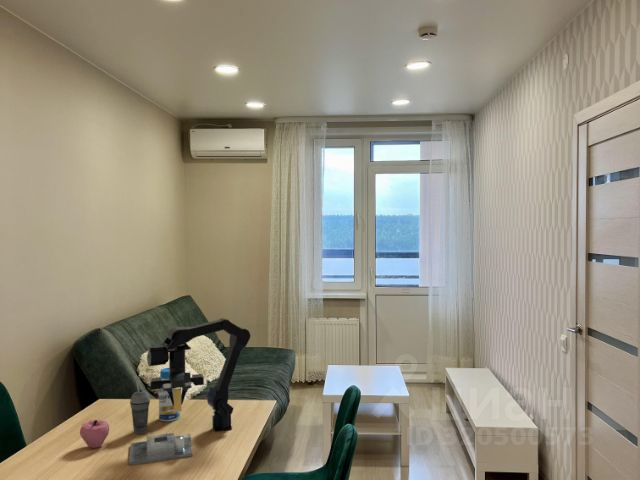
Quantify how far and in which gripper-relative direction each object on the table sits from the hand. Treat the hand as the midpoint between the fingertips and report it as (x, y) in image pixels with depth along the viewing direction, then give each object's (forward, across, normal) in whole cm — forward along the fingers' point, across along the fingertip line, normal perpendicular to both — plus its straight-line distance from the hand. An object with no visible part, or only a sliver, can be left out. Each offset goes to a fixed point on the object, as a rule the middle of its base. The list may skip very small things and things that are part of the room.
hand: (177, 404), depth 184 cm
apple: (+12, -28, +2) cm, 31 cm away
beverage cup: (+12, -13, +11) cm, 21 cm away
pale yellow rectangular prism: (+2, 0, 0) cm, 2 cm away
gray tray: (+12, -6, -10) cm, 17 cm away
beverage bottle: (+12, -2, +22) cm, 25 cm away
